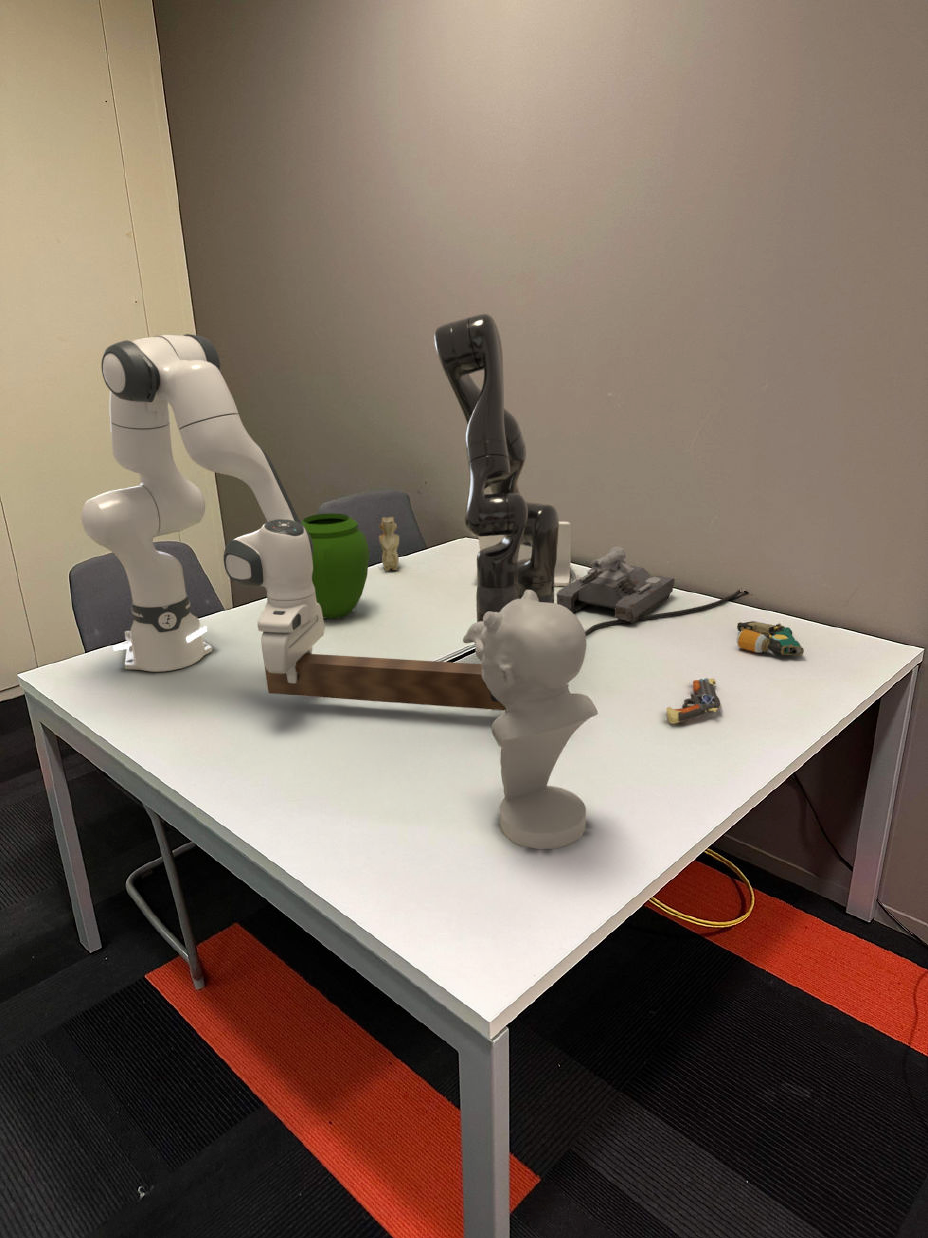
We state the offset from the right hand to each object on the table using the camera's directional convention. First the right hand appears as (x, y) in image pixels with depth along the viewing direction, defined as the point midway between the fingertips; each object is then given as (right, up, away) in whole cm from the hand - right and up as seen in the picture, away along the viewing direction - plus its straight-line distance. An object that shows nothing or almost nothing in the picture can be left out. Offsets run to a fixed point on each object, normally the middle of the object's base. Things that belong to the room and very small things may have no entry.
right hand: (499, 694), depth 155 cm
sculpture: (-28, +28, +93) cm, 101 cm away
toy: (+32, +17, +59) cm, 69 cm away
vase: (-39, +15, +59) cm, 72 cm away
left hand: (-38, +3, +8) cm, 39 cm away
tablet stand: (+11, +26, +84) cm, 88 cm away
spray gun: (+61, +8, +33) cm, 69 cm away
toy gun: (+37, -3, +6) cm, 37 cm away
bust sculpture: (+2, -16, -27) cm, 31 cm away
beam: (-19, -1, +5) cm, 20 cm away
